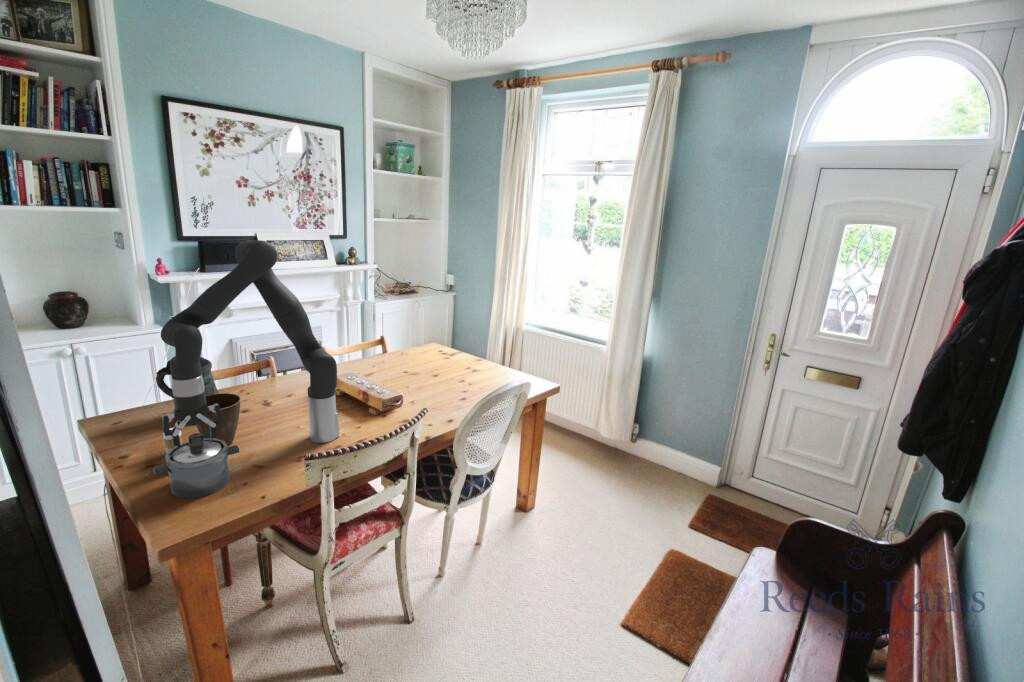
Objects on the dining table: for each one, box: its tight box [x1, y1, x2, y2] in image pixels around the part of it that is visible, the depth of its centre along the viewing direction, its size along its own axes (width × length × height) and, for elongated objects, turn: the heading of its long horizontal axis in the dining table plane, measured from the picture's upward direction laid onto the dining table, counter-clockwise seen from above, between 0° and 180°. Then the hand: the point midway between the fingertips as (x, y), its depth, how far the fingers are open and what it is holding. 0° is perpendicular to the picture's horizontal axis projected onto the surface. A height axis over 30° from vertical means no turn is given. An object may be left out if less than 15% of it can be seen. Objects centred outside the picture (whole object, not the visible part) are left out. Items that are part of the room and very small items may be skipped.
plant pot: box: [195, 392, 241, 447], centre depth 163 cm, size 15×15×16 cm
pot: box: [152, 438, 240, 499], centre depth 141 cm, size 21×15×11 cm
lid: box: [173, 432, 222, 463], centre depth 139 cm, size 12×12×6 cm
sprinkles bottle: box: [162, 427, 183, 455], centre depth 147 cm, size 5×5×14 cm
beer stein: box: [155, 356, 220, 413], centre depth 179 cm, size 16×19×25 cm
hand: (195, 441), depth 138 cm, fingers open, 8 cm apart
